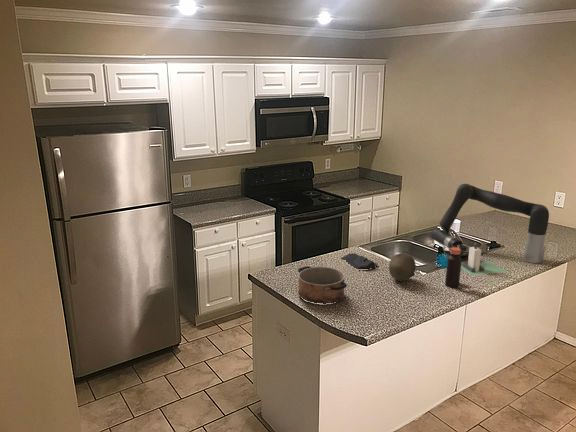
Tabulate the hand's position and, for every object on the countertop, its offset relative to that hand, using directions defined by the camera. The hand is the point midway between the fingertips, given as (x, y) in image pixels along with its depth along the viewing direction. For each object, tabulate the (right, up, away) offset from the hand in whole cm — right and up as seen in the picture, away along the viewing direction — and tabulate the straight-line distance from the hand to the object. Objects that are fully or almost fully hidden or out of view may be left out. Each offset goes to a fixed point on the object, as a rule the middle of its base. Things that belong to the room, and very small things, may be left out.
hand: (469, 253), depth 256 cm
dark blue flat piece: (-61, -7, +9) cm, 62 cm away
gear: (-13, -9, +2) cm, 16 cm away
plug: (+1, -8, -3) cm, 9 cm away
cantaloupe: (-42, -14, -15) cm, 47 cm away
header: (+1, -8, -2) cm, 8 cm away
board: (+6, -9, -1) cm, 11 cm away
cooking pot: (-86, -19, -31) cm, 93 cm away
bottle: (-17, -15, -21) cm, 31 cm away
